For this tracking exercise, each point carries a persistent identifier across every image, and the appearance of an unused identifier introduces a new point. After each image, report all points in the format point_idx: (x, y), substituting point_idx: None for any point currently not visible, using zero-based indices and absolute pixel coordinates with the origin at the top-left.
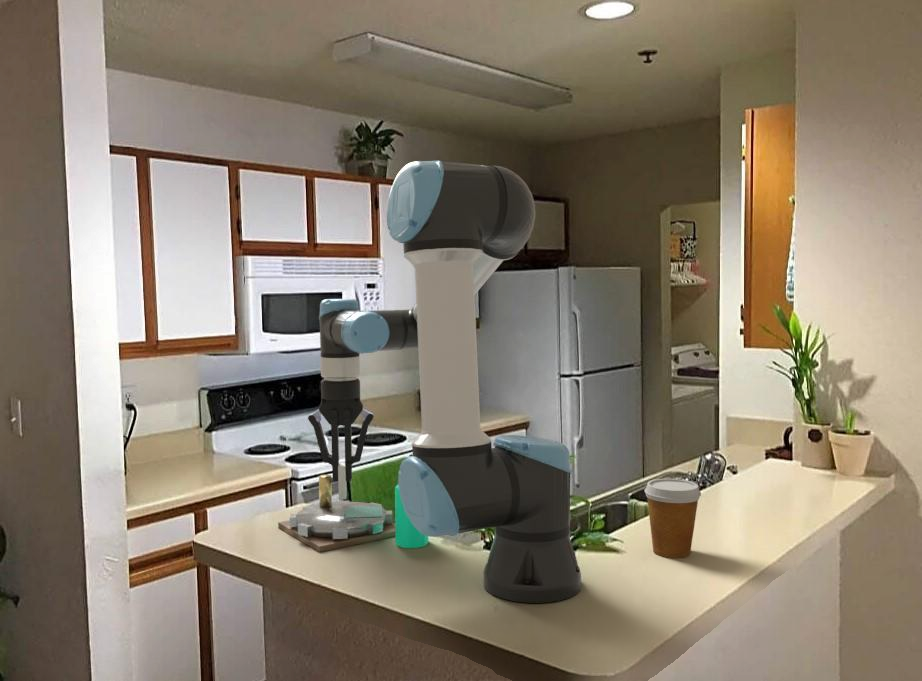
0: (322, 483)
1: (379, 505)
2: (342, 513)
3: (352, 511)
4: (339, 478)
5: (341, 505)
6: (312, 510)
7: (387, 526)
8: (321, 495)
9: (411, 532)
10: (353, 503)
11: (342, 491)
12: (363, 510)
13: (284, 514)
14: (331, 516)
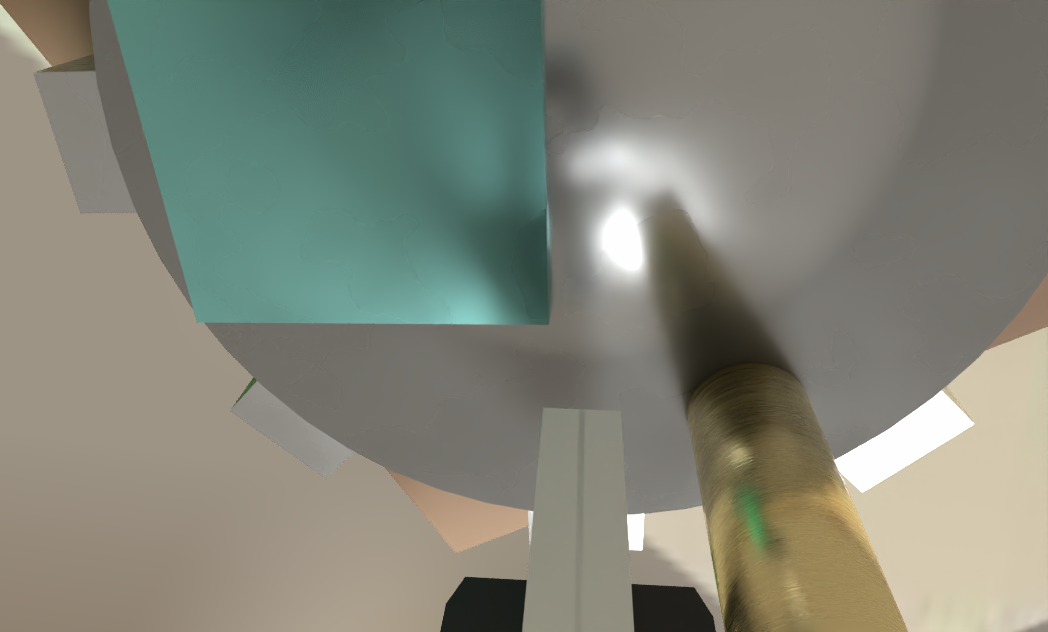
0: (851, 552)
1: (246, 394)
2: (575, 142)
3: (466, 170)
4: (614, 593)
5: None
6: (896, 290)
7: None
8: (822, 451)
9: None
10: (484, 456)
11: (577, 463)
12: (352, 197)
13: (1021, 556)
14: (702, 28)
